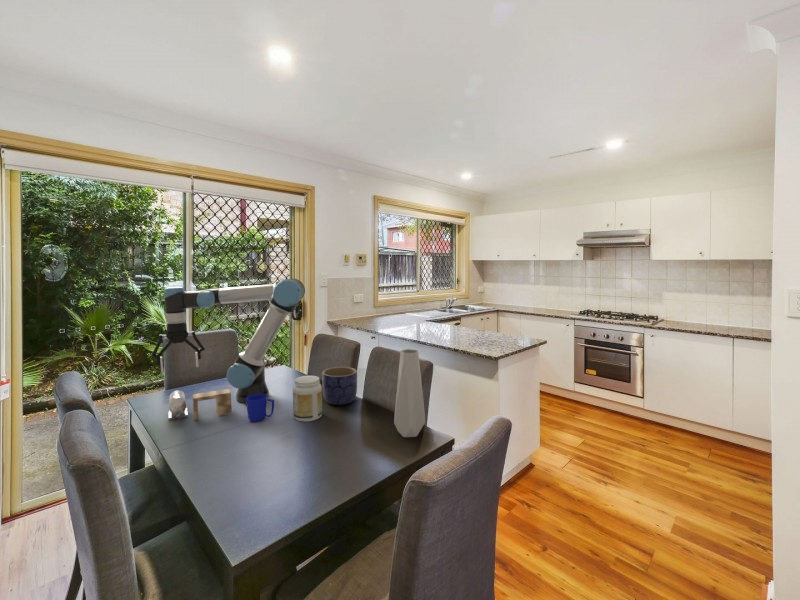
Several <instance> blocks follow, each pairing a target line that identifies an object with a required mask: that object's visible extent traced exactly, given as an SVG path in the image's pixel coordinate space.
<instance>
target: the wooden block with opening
mask: <svg viewBox="0 0 800 600" xmlns="http://www.w3.org/2000/svg"><path fill="white" fill-rule="evenodd" d="M208 400H215V405H216V406H215V407H216V410H215V411H216V413H217V416H218V417H219V416H225V415H231V414H232V413H233V412H232V392H231V390H230V388H225V389H219V390H218V389H217V390H212V391H205V392H204V391H203V392H200V393H194V394H192V410H193V411H192V413H193V419H194V421H198V420H199V403H198V402H202V401H208Z"/></svg>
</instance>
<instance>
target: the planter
mask: <svg viewBox="0 0 800 600" xmlns="http://www.w3.org/2000/svg"><path fill="white" fill-rule="evenodd" d="M321 376H322V377H321V378H322V381H321V383H322V384H321V386H322V397H323V398H324V400H325V401H326V402H327V403H328V404H330V405H333V406H344V405H348V404H350V403H352V402H353V401H354V400H355V398H356V396H357V391H358V370H357V369H356V368H353V367H349V366H348V367H347V366H336V367H335V366H334V367H329V368H326V369H324V370H323V371H322V374H321Z"/></svg>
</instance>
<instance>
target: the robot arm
mask: <svg viewBox="0 0 800 600" xmlns="http://www.w3.org/2000/svg"><path fill="white" fill-rule="evenodd" d="M163 293H164V294H163V296H164V297H163V299H164V308H165V319H166V333H167V334H162V333H160V334H159V335H158V341H157V343H156V345H155V347H154V349H153V351H152V353H151V358H156V364H157V366H160V370H161V371H160V372H161V373H164V366H163V365H164V364H163V356H162V355H163V354H164V353H165V352H166V351H167V349H168V348H169V347H170V346H171V345H172V344H182V343H184V342H185V343H186V345H189V346H190V347H191V348H192V349H193V350H194V351H195V352H194V353H195V367H196V368H199V367H200V366H199V360H201V358H202V355H201V353H202V352H203V351H205V347H204V346H203V344H202V343H201V341H200V340H199V338H198V337H197V336H196V335H197V334H196V332H195V330H192V331H189V332H188V328H187V327H188V326H187V322H186V321H187V314H186V309H207V308H212V307H214V305H215V306H216V305H223V304H224V305H225V304H235V303H237V304H238V303H247V302H248V303H250V302H259V301H268V302H269V307H268V308H267V311H266V312H265V314H264V316H263V318H262V319H261V321H260V323H259V324H258V327H257V328H256V330H255V332H254V333H253V335H252V337H251V339H250V341H249V343H248V344H247V346H246V348H245V350H244V351H241V352H239V353H238V355H237V356H236V359H235V360H234V361H233V364H232V365H230V366H229V368H228V369H227V372H226V379H227V382H228V384H229V385H231V387H234V388H236V389H237V392H236V394H235V399H236V402H239V403H245V404H247V403H246V397H247V396H249V395H253V394H265V395H267V399H269V397H270V392H269V391H270V390H269V388H268V385H267V383H266V375H265V374H266V372H265V370H266V369H265V358H266V357H265V356H266V353H267V352H268V350H269V348H270V346H271V345H272V343H273V341H274V339H276V336H277V334H278V333H279V331H280V329H281V327H282V325H283V323H284V321H285V320H286V318H287V316H288V315H291V314H293V313H294V311H295V309H296V308H297V306H298V304H299V302H300V301H301V300H302V299H303V298H304V296H305V294H306V289H305V286H304V284H303V282H302V281H300V280H299V279H297V278H294V277H293V278H292V277H291V278H286V279H282V280H278V281H275V282H274V283H270V284H268V283H267V284H257V285H256V284H255V285H244V286H232V287H231V286H230V287H219V288H212V287H211V288H207V289H203V290H202V289H201V290H191V291H187V290H185V289H184V287H182V286H174V287H173V286H171V287H166V288H164V291H163ZM189 336H190V337H192V338H193V340H194V341H195V342H196V344H197V345H198V347H199V348H198V347H197V346H196V345H195V344H194V343H193V342H192V341H190V340H189V338H188V337H189ZM165 338H166V339H168V341H167V342H166V344H164V345H163V347H162V348H161V349H160V350H159V348H160V347H161V344H162V342H163V341H164V340H165ZM158 350H159V352H158ZM157 352H158V353H157Z"/></svg>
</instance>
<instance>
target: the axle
mask: <svg viewBox="0 0 800 600" xmlns="http://www.w3.org/2000/svg"><path fill="white" fill-rule="evenodd" d="M168 401H169V402H168V403H169V407H168V409H169V410H168V411H170V412H171V413H172V414H174V415H179V414H181V413H183V412H184V411H185V409H186V408H187V403H186V396H185V393H184V391H182V390H178V389H177V390H174V391H172V392H171V393H170V395H169V400H168Z"/></svg>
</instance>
